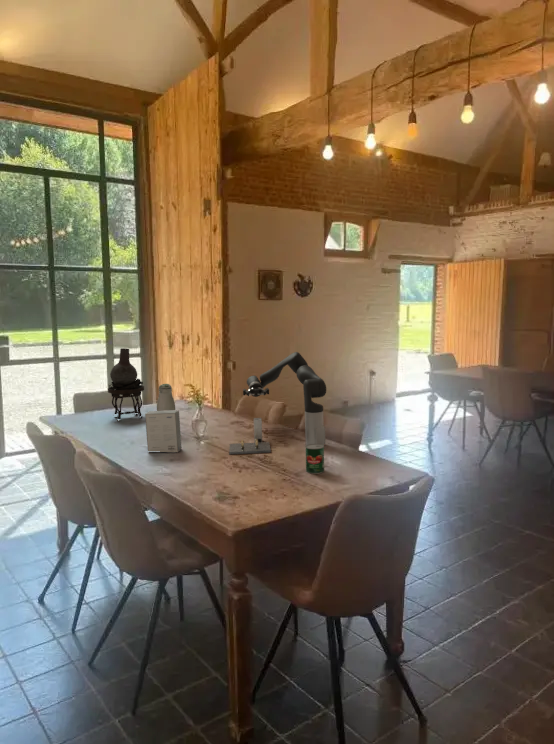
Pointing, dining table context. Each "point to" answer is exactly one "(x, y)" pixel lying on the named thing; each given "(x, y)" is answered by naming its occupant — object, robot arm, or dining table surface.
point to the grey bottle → (165, 398)
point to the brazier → (125, 383)
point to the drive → (258, 429)
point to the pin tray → (249, 448)
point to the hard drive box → (163, 431)
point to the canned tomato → (314, 458)
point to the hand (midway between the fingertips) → (256, 393)
